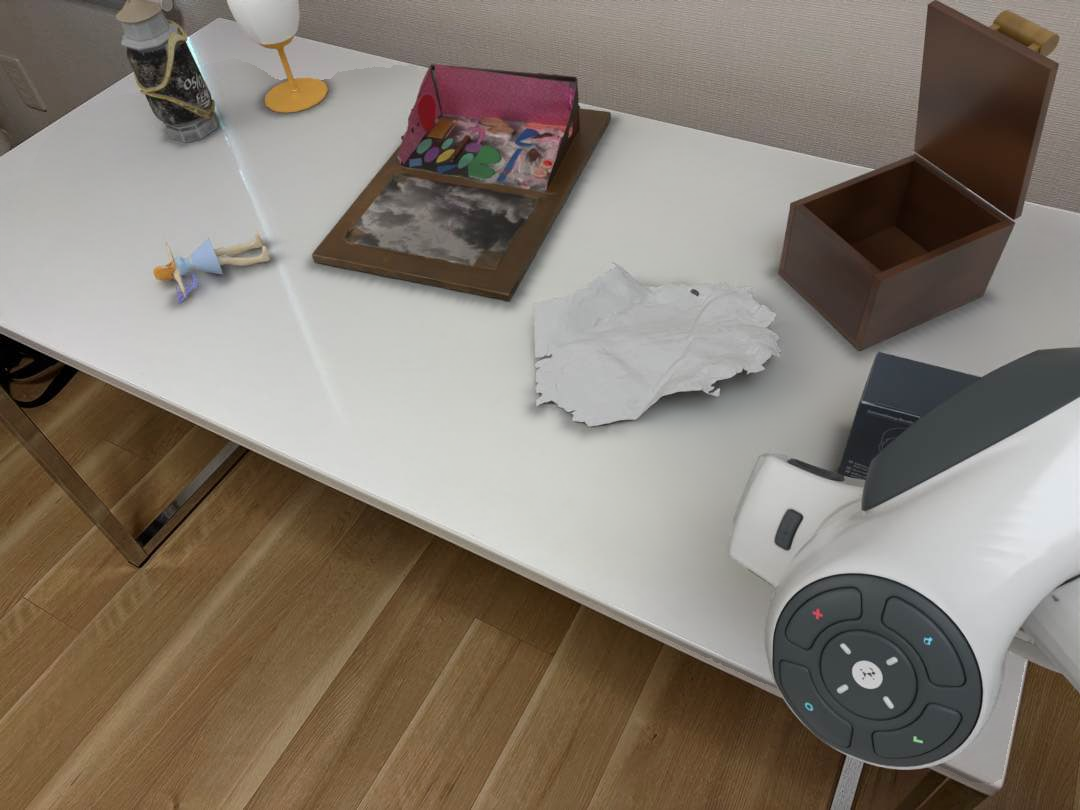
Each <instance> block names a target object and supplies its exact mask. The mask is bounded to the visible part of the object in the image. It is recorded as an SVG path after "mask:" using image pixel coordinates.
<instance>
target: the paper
mask: <svg viewBox="0 0 1080 810" xmlns="http://www.w3.org/2000/svg"><path fill="white" fill-rule="evenodd" d="M611 263H612V264H613V265H614V266H615V267H613V268H611V269H609V270H607V271H605V273H604V274H602V275H600V276H598V277H596V278H595V279H593V281H591V282H589V283H588V284H587V286H584V287H583V288H580V289H578V290H576V291H575V292H573V293H571V294H568V295H564V296H563V297H558V298H552V299H548V300H544V301H540V302H536V303H533V322H534V323H533V324H534V326H533V327H534V328H533V329H534V330H533V331H534V358H535V359H536V358H543V357H544V356H547V357H546V358H543V359H540V360H538V361H536V362H534V363H535V368H538V369H537V370H535V383H537V384H536V385H535V393H537V394H539V393H540V394H541V396H540V397H538V398H536V399H535V402H536V403H535V405H536V407H538V406H540V405H542V404H544V403H549V402H552V403H553V402H554V403H555V404H557V407H558V408H560V409H564V411H566V412H567V413H571V415H572V419H571V422H578V423H579V422H580V423H585V424H586V426H587V427H589V428H590V427H596V426H601V425H605V424H611V423H614V422H618V421H627V420H631V421H632V420H633V421H636V420H637V419H639V418H640V417H641V416H642V415H643V414H644V413H645V412H646V411H647V410H648V409H649V408H650V407H651V406H653V405H654V404H655V403H657V402H658V401H659V399H660V398H662V397H663V396H668V395H672V394H675V393H681V392H693V391H694V392H695V391H702V392H704V393H705V394H708V395H710V396H714V397H719V396H720V393H721V392H720V391H721V388H720V387H718V388H717V389H716V390H714V389H715V386H712V385H713V384H715V383H716V382H717V381H721V380H727V379H730V378H733V377H734V376H735V375H736V374H740V373H743V370H744V371H746V375H749V374H750V373H759V372H763V371H764V370H765V369H766V368H765V367H764V366H763V364H766V363H767V362H768V360H769V359H770V358H771V357H772V356H774V357H776V358H778V359H780V358H781V353H782V351H781V349H780V348H779V347H778V345H779V344H778V342H777V341H779V340H780V337H779V335H778V334H777V333H775V332H773V330H771V329H770V328H768V327H769V326H770V325H771V324H772V322H774V321H775V318H776V317H777V316H778V315H777V313H775V312H773V311H771V310H770V308H769V307H768V306H765V304H760V303H759V302H758V301H757V300H755V299H754V298H753V297H754V295H753V294H752V293H755V292H756V291H757V289H756V287H752V288H751V286H750V285H748V286H745V287H742V289H741V286H738V287H737V286H736V287H734V286H732V285H730V284H729V283H726V282H724V281H723V282H718V283H706V282H705V283H696V284H693V285H692V284H691V285H688V284H685V283H680V284H677V283H669V284H663V285H658V286H648V285H643V284H641V283H640V282H639V281H638V280H636V279H635V278H634V276H632V275H631V273H629V271H627V270H626V269H625V268H624V267H623V266H622V265H620V264H618V263H615V262H612V261H611ZM692 290H695V291H697V293H698V296H697V295H696V294H694V293H692ZM550 355H551V357H549V356H550ZM713 390H714V391H713ZM711 391H713V392H711ZM709 392H710V393H709Z"/></svg>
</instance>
